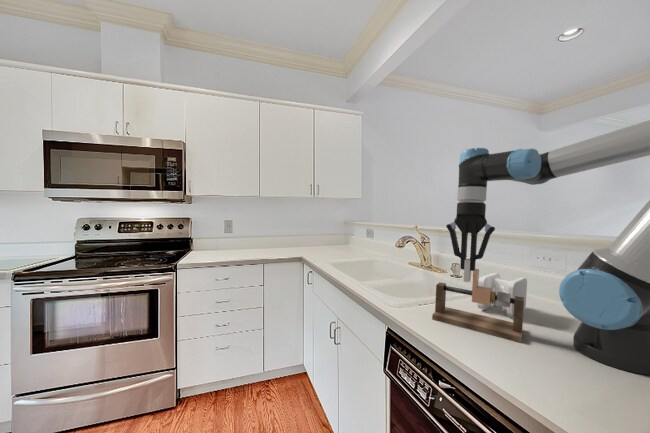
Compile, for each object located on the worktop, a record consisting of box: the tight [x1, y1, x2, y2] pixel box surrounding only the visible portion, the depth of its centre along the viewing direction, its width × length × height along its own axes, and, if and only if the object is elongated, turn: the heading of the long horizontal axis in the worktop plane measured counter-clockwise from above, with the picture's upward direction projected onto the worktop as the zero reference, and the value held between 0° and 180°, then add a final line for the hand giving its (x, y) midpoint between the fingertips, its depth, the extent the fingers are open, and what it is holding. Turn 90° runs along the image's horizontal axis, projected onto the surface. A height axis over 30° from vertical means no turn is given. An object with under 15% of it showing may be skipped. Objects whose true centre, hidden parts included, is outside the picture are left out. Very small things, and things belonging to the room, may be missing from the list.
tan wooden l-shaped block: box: [471, 268, 492, 305], centre depth 78 cm, size 4×4×9 cm
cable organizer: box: [476, 272, 528, 319], centre depth 91 cm, size 15×11×12 cm
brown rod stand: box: [431, 281, 524, 344], centre depth 79 cm, size 22×10×10 cm, turn 53°
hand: (467, 280), depth 81 cm, fingers closed
